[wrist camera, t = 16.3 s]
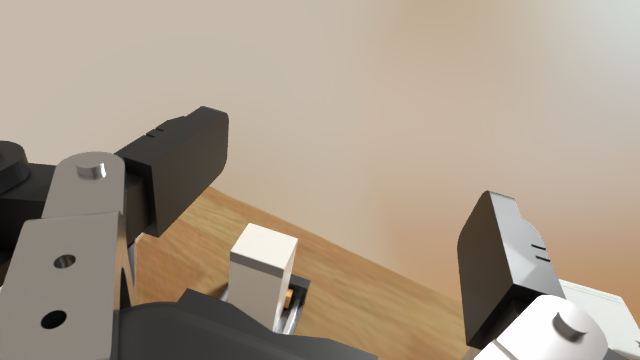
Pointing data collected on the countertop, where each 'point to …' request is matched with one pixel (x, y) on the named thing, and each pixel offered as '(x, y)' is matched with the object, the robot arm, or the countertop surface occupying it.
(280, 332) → the dark grey open tray
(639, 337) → the skincare box
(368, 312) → the countertop surface
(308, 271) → the countertop surface
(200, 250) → the countertop surface
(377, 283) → the countertop surface
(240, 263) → the block
